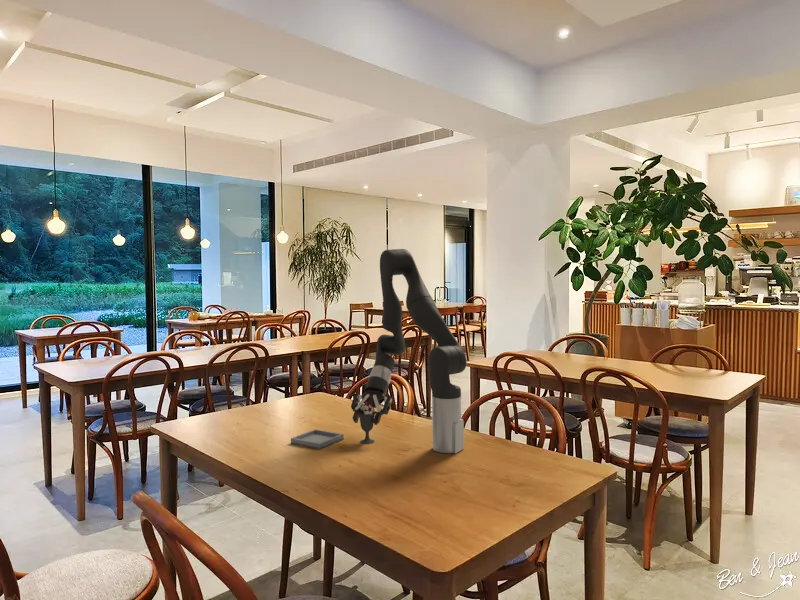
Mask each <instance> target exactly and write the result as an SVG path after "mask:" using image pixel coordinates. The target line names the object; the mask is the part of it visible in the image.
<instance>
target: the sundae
mask: <svg viewBox="0 0 800 600" xmlns="http://www.w3.org/2000/svg"><path fill="white" fill-rule="evenodd" d="M371 398H372V397H370V398H369V399H370V403H369V404H368V401H369V400H368V401H367V402H365V404H363V405H362V407H361V409H360V408H358V412H357V414H358V415H359V422H360V423H359V424H360V429H362V431H364V432H365V437H364V439H361V440H360V441H359V443H360V444H362V443H363V444H362V445H371V444H374V443H375V440H374V439H371V438H370V431H371V430H373V428H374V425H375V424H374V423H373V421H374V418H375V414H376V412H377V410H375V408H373V407H372V404H371ZM373 442H374V443H373ZM370 443H371V444H370Z"/></svg>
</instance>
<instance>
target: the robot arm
mask: <svg viewBox="0 0 800 600" xmlns="http://www.w3.org/2000/svg"><path fill="white" fill-rule="evenodd" d="M379 274H380V284H381V291H382V293H381V294H382V302H383V303H382V328H383V330H385V331H387V332H390V333H392V334H391V335H390V334H381V335H380V336H378V338H377V340H376V357H375V361H374V364H373V366H372V369H371V371H370V373H369V376H368V379H367V382H366V384H365V388H364V392H363V393H362V394H358V393H354V395H353V398H352V401H351V403H350V404H351V405H350V408H351V410H352V412H354V413H353V415H352V420H353V422H354V423H355V424H358V422H359V420H360V417H359V415H358V414H357V412H358V408H360V409H361V407H362V405H364V404H365V402H367V401H368V400H369V401H368V404H369V403H370V399H369V398H370V397H372V398H371V404H372V407H373V408H374V409H375V408H376V414H375V416H374V421H373V423H374V424H373V425H374V426H377V425H378V424H380V421H381V418H382V416H383V415H388V414H389V411H390V409H391V408H392V407H391V406H392V403H393V399H392V397H391V395H388V396H387V395H386V394H387V392H388V388H389V386H390V383H391V379H392V373H393V370H394V367H395V363H396V362H395V359H394V358H393V356H401V355H402V354H403V353H404V352H405V349H406V343H405V342H406V341H405V337H404V333H403V332H404V331H403V327H402V326H403V325H402V320H403V306H402V303H401V300H400V299H399V298H400V297H398V295H397V293H396V291H395V288H394V283H393V280H394V279H393V278H394V276H400V275H402V276H403V277H404V278H405V280H406V283H407V288H408V289H407V293H406V299H405V305H406V306H405V307H406V309H407V310H408V313H409V315H410V317H411V319H412V321H413V322H414V323H415V325H416V326H417V327H418V328H419V329H420V330H422V331H423V332H424V333H426V335H429V336H430V338H432V339H433V340H434V341H435V343H437V346H436V347H433V348H431V350H430V352H429V355H428V374H429V386H430V390H431V398H432V399H431V405H432V406H431V410H432V411H431V412H432V414H431V416H432V417H431V418H432V420H431V421H432V422H431V423H432V424H431V425H432V428H431V429H432V442H431V443H432V450H433V451H434V452H435V453H441V454H458V453H459V452H460V451H462V450H464V449H465V440H464V439H465V429H464V427H465V426H464V425H465V423H464V419H463V418H462V389H461V387H460V386H458V385H456V384H452V383H451V379H450V375H451V376H452V375H456V374H461V373H463V372H464V371H465V370H466V368H467V357H466V353H465V351H464V350H463V348H462V346H461V344H460V343H459V342H458V340H457V339H456V337H455V336H454V334H453V332H451V330H450V328H449V326H448V325H447V324H446V322H445V320H444V318H443V316H442V315H441V313H440V311H439V309H438V306H437V305H436V304H437V303H435V301H434V299H433V297H432V296H431V294H430V292H429V290H428V288H427V287H426V285H425V283H424V280H423V279H422V276H421V274H420V271H419V268H418V267H417V265H416V261H415V260H414V256H413V254H412V253H411V252H410V251H409V250H408V249H407V248H406V249H405V248H397V249H395V248H394V249H385V250H383V251H382V253H381V254H380V258H379ZM392 355H393V356H392ZM383 403H384V405H383V407H382V406H381V404H383Z"/></svg>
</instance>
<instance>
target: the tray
mask: <svg viewBox="0 0 800 600" xmlns="http://www.w3.org/2000/svg"><path fill="white" fill-rule="evenodd" d="M344 439H345V437H344V434H343V433H340V432H335V431H334V432H332V431H328V430H321V429H317V428H316V429H315V428H314V429H313V430H309V431H307V432H304V433H301V434H299V435H296V436H293V437H291V438H290V444H291V445H295V446H301V447H306V448H311V449H316V450H322V449H324V447H325V448H326V447H329V446H331V445H333V444H336V443H338V442H341V441H343V440H344Z"/></svg>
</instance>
